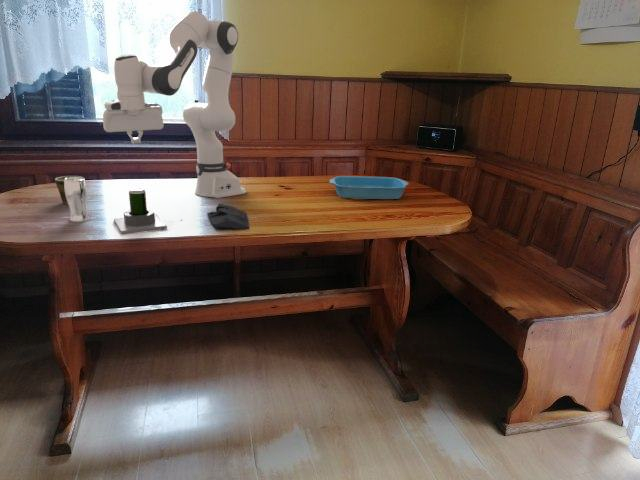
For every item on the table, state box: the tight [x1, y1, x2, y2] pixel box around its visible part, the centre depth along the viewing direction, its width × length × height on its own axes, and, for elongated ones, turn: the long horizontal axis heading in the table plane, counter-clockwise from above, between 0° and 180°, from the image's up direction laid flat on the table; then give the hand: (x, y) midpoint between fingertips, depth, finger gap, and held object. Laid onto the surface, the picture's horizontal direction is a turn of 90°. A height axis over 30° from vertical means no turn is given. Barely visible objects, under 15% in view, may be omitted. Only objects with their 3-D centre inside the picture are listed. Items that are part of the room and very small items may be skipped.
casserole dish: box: [329, 175, 409, 200], centre depth 227 cm, size 37×22×7 cm, turn 92°
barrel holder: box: [113, 208, 168, 235], centre depth 171 cm, size 15×15×5 cm
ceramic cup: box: [54, 175, 82, 206], centre depth 194 cm, size 13×10×10 cm
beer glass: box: [64, 176, 90, 223], centre depth 172 cm, size 7×7×15 cm
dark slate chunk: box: [206, 203, 251, 231], centre depth 180 cm, size 15×22×5 cm
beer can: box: [128, 187, 148, 216], centre depth 169 cm, size 5×5×12 cm
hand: (136, 143), depth 175 cm, fingers closed
